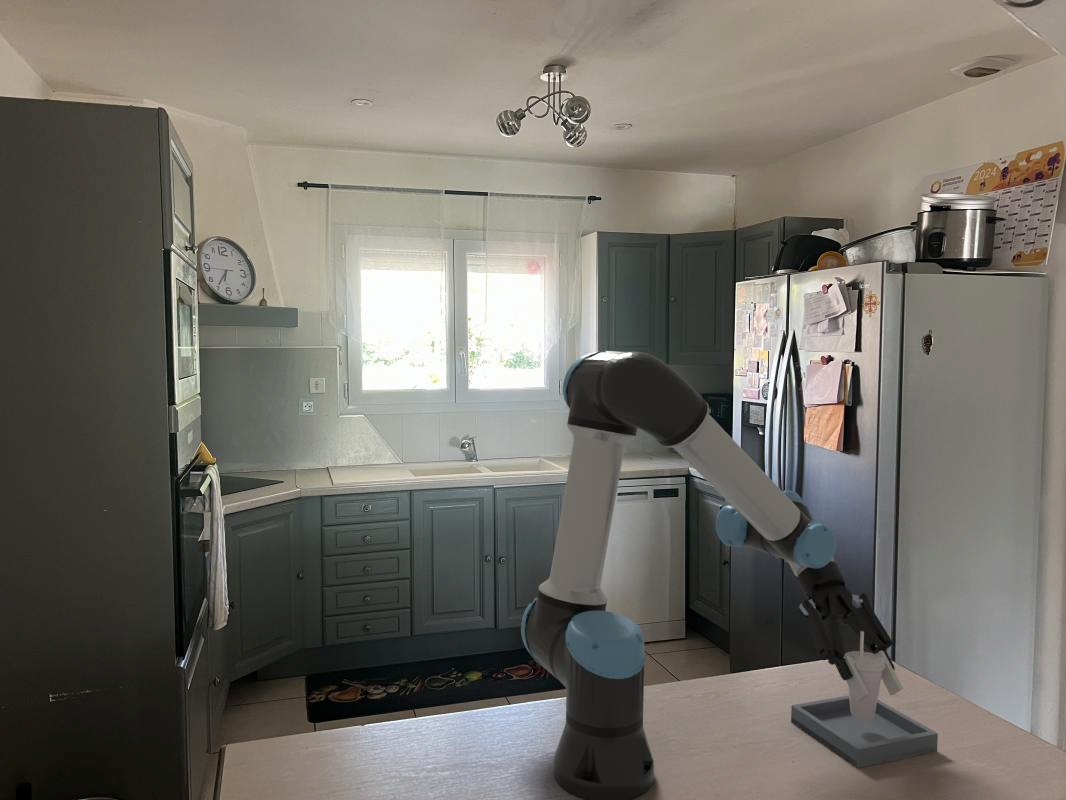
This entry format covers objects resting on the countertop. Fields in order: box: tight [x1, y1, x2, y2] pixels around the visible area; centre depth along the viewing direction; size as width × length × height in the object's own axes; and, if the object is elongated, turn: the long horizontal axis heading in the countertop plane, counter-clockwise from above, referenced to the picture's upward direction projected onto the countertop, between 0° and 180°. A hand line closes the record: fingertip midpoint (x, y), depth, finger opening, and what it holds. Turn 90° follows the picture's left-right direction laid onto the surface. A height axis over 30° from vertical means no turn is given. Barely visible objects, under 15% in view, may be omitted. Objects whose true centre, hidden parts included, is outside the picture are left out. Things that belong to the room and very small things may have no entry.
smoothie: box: [844, 631, 885, 719], centre depth 132 cm, size 6×6×14 cm
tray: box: [790, 695, 939, 769], centre depth 132 cm, size 16×16×3 cm
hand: (879, 694), depth 129 cm, fingers closed on smoothie, 6 cm apart
